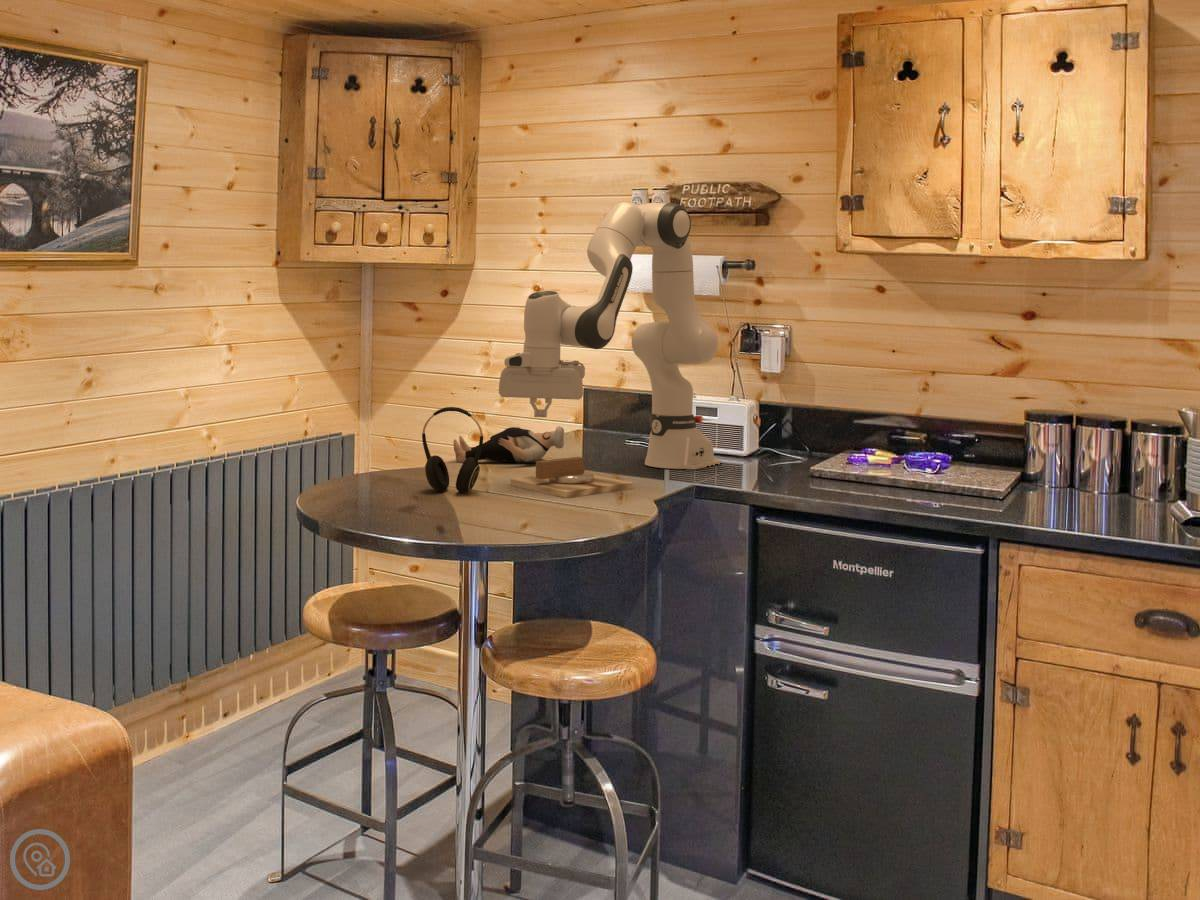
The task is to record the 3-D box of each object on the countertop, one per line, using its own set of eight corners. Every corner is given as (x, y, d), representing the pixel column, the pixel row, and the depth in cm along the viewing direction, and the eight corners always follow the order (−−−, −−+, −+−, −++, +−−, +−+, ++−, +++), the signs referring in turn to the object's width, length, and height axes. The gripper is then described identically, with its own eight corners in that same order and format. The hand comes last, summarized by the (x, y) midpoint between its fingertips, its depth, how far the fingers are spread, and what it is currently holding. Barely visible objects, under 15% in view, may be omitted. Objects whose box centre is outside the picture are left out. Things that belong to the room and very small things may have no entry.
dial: (574, 474, 280) (574, 453, 279) (603, 480, 272) (603, 459, 271) (524, 480, 270) (524, 459, 269) (553, 486, 261) (553, 464, 261)
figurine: (463, 431, 321) (565, 414, 318) (470, 467, 323) (572, 450, 319) (445, 442, 299) (555, 423, 295) (453, 480, 300) (562, 462, 297)
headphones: (428, 487, 268) (428, 403, 265) (488, 490, 266) (488, 406, 263) (416, 493, 260) (415, 407, 257) (477, 496, 257) (478, 410, 254)
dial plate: (576, 476, 287) (576, 470, 287) (632, 488, 271) (632, 481, 271) (510, 484, 273) (510, 477, 273) (565, 498, 258) (565, 490, 257)
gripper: (586, 360, 271) (584, 417, 273) (502, 357, 272) (501, 414, 274) (584, 361, 265) (582, 419, 266) (498, 359, 266) (497, 417, 268)
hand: (540, 417), depth 270 cm, fingers closed
